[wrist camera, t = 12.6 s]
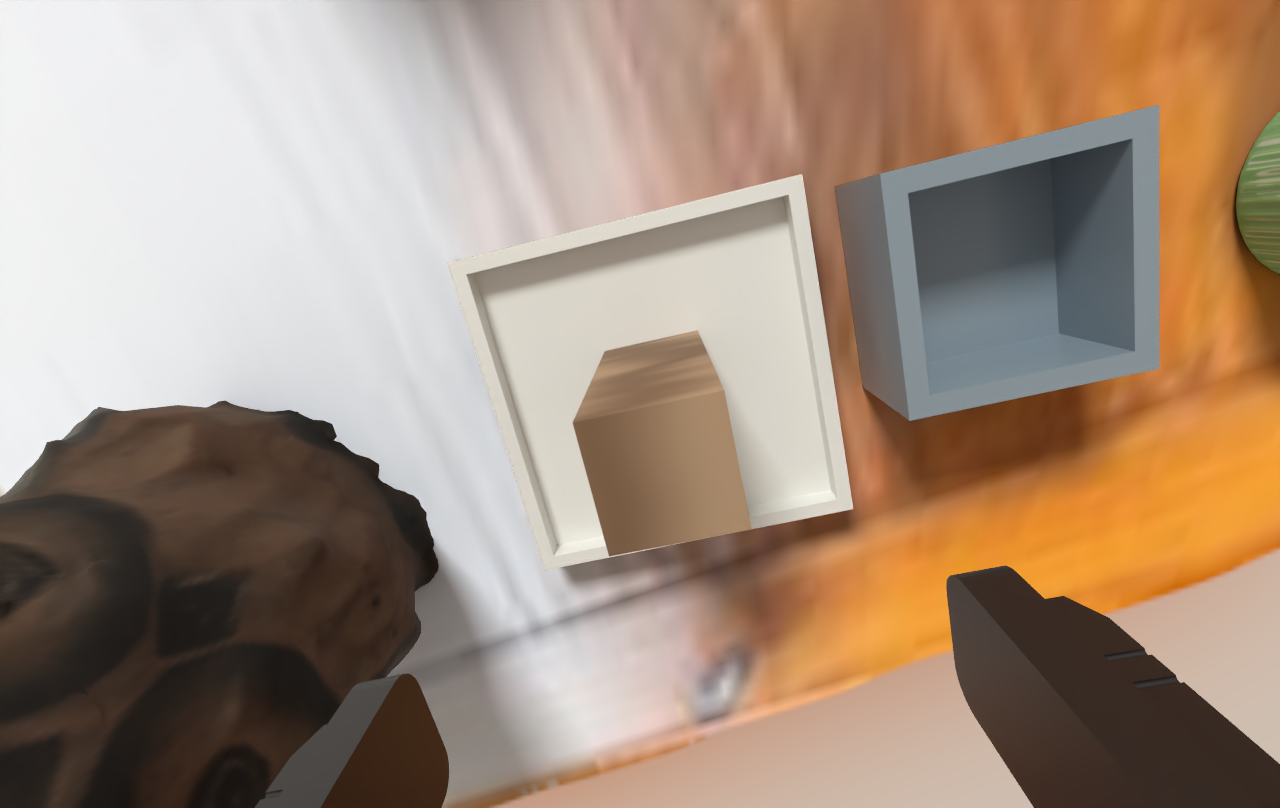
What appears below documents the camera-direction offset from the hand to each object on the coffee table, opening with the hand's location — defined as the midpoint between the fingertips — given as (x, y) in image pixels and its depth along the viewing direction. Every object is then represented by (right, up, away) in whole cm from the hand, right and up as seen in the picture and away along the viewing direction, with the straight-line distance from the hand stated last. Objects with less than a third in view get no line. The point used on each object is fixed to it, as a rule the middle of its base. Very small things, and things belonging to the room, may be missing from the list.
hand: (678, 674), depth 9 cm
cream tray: (0, +5, +17) cm, 18 cm away
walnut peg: (0, +5, +16) cm, 17 cm away
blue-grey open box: (+13, +10, +16) cm, 22 cm away
